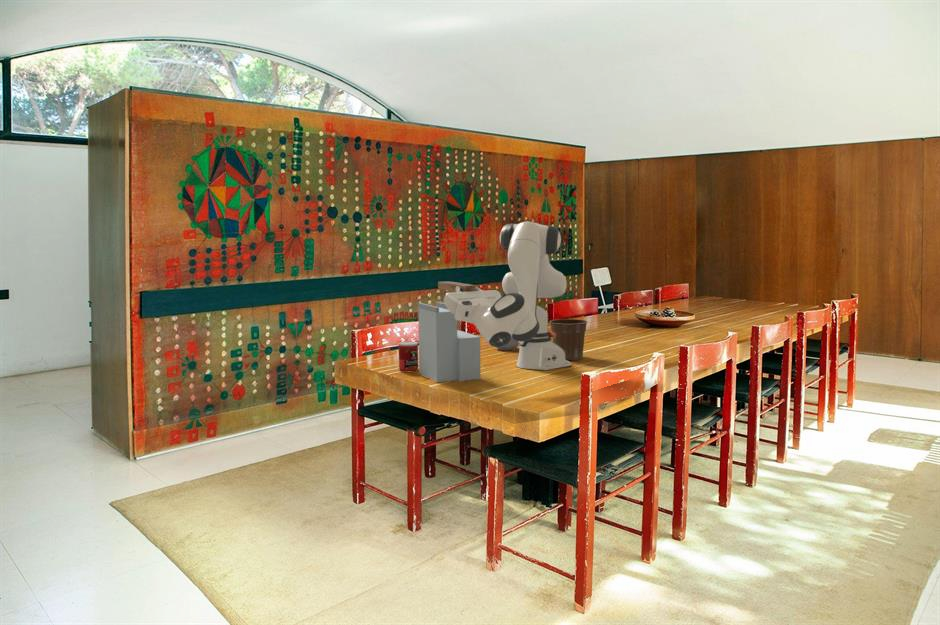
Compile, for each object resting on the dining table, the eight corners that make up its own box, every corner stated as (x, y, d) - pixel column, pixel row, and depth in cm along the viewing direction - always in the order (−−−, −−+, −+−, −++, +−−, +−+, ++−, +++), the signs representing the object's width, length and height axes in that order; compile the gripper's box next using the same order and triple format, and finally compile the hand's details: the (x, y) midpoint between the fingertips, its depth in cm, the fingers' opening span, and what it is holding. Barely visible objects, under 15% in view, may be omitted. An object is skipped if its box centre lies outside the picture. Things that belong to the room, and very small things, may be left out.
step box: (459, 369, 285) (458, 300, 281) (480, 378, 268) (480, 305, 264) (419, 373, 277) (418, 303, 274) (439, 383, 260) (437, 308, 257)
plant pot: (541, 357, 309) (541, 320, 307) (568, 353, 319) (568, 317, 317) (567, 363, 296) (568, 324, 294) (594, 358, 306) (595, 321, 304)
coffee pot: (489, 348, 332) (489, 316, 330) (511, 346, 337) (511, 315, 335) (512, 356, 313) (512, 322, 311) (535, 353, 318) (535, 320, 316)
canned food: (405, 372, 280) (405, 345, 278) (395, 369, 286) (394, 342, 285) (422, 370, 284) (421, 343, 283) (411, 367, 290) (411, 340, 289)
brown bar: (449, 288, 263) (449, 281, 262) (476, 292, 243) (476, 285, 243) (438, 288, 261) (438, 281, 260) (464, 293, 241) (464, 286, 241)
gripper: (511, 301, 238) (494, 278, 248) (455, 304, 229) (440, 281, 239) (506, 316, 241) (490, 293, 251) (451, 320, 233) (436, 296, 242)
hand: (465, 287), depth 245 cm, fingers closed on brown bar, 4 cm apart
